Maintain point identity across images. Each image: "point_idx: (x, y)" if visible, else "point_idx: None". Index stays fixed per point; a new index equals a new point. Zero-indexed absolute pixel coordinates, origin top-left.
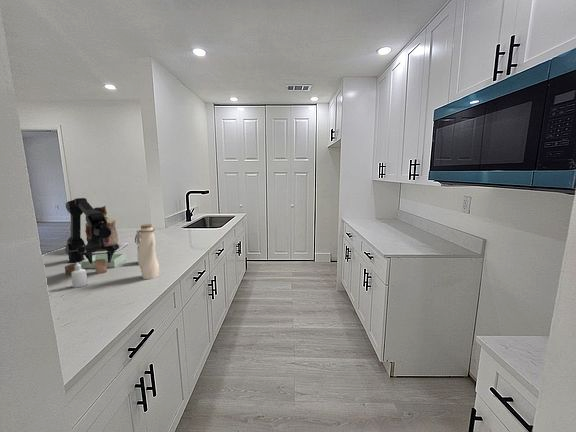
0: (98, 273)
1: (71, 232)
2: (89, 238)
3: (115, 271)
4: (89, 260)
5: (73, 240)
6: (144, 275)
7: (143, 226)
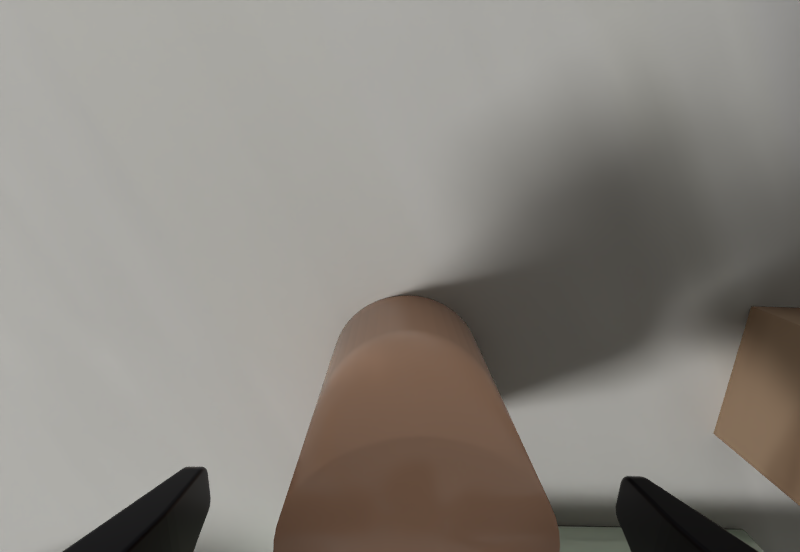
0: (414, 299)
1: None
2: None
3: (198, 368)
4: (717, 545)
5: None
6: None
7: None
